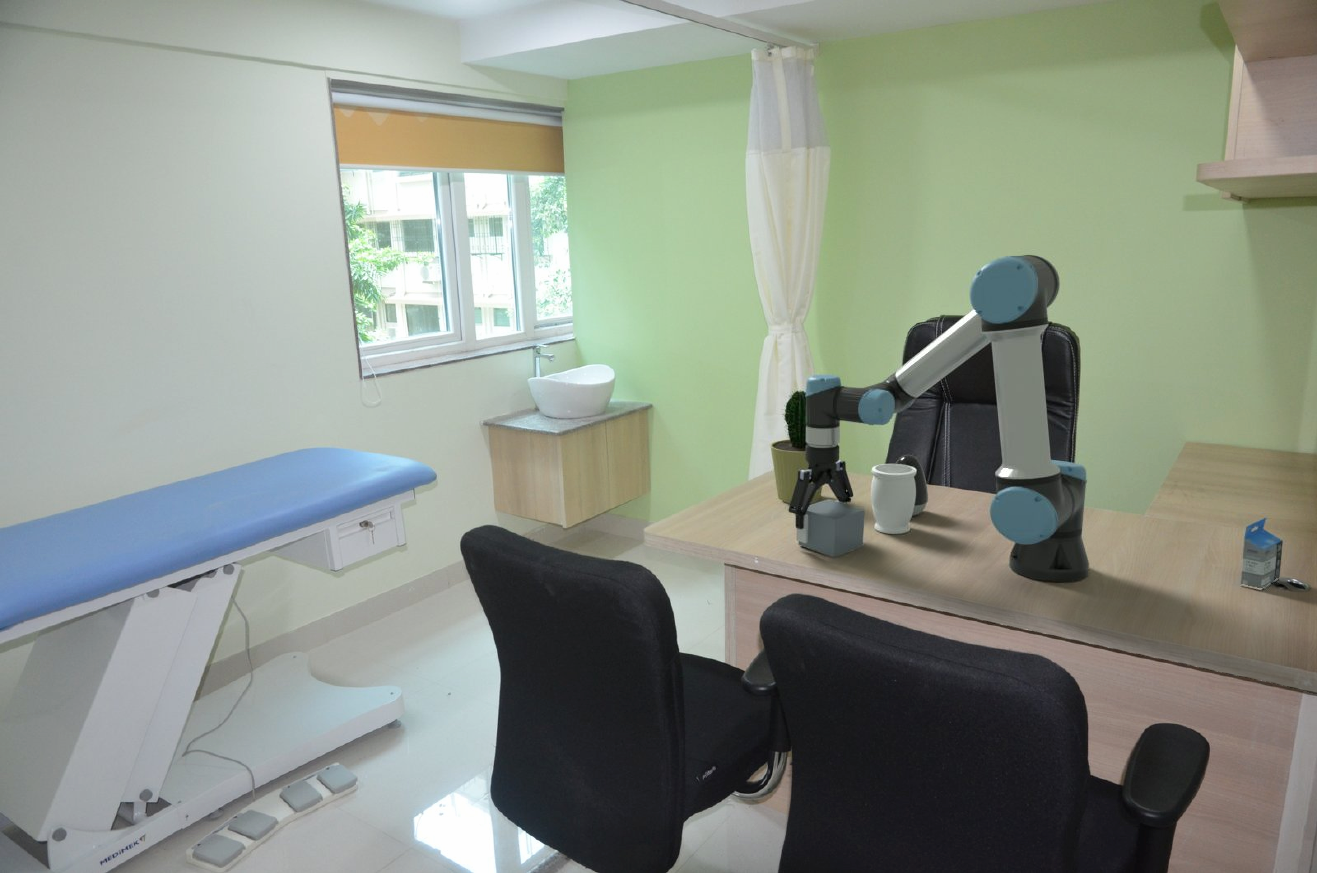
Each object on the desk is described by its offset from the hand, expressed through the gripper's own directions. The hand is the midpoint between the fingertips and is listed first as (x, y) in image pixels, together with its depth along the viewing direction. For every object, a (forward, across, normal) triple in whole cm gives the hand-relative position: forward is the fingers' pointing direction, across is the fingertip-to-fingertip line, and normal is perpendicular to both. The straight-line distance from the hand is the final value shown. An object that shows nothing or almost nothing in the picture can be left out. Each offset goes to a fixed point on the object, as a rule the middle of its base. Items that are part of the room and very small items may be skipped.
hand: (821, 535), depth 203 cm
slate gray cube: (+2, 0, +3) cm, 3 cm away
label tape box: (+2, -43, +74) cm, 86 cm away
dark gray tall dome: (+2, -33, 0) cm, 33 cm away
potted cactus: (+2, -24, -28) cm, 37 cm away
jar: (+2, -20, +5) cm, 21 cm away
